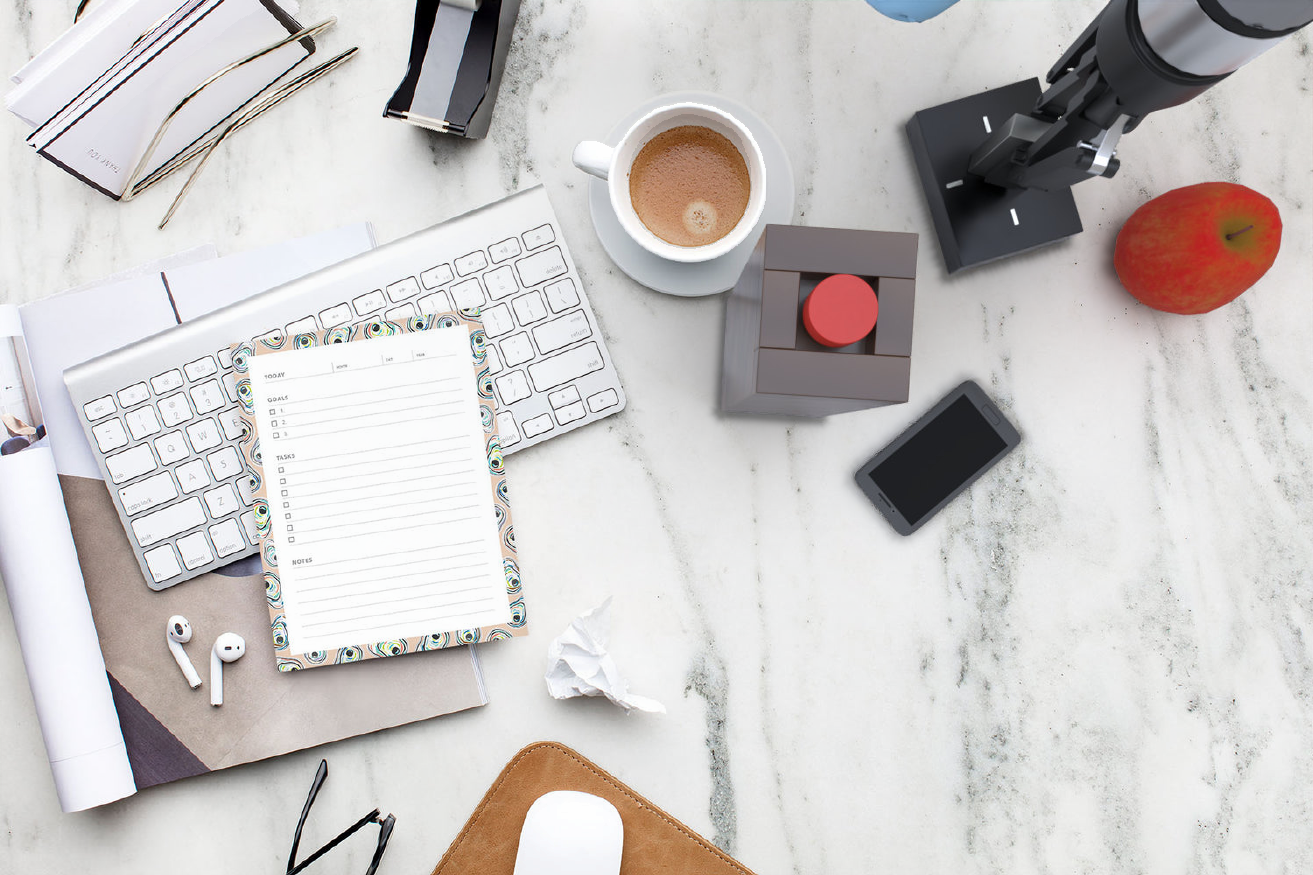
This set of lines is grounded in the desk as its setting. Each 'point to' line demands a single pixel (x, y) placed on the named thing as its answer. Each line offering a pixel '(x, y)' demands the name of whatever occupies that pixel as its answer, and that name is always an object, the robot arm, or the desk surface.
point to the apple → (1197, 247)
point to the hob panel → (967, 207)
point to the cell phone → (937, 458)
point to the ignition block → (778, 344)
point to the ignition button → (840, 310)
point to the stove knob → (1006, 142)
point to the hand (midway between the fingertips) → (1004, 167)
